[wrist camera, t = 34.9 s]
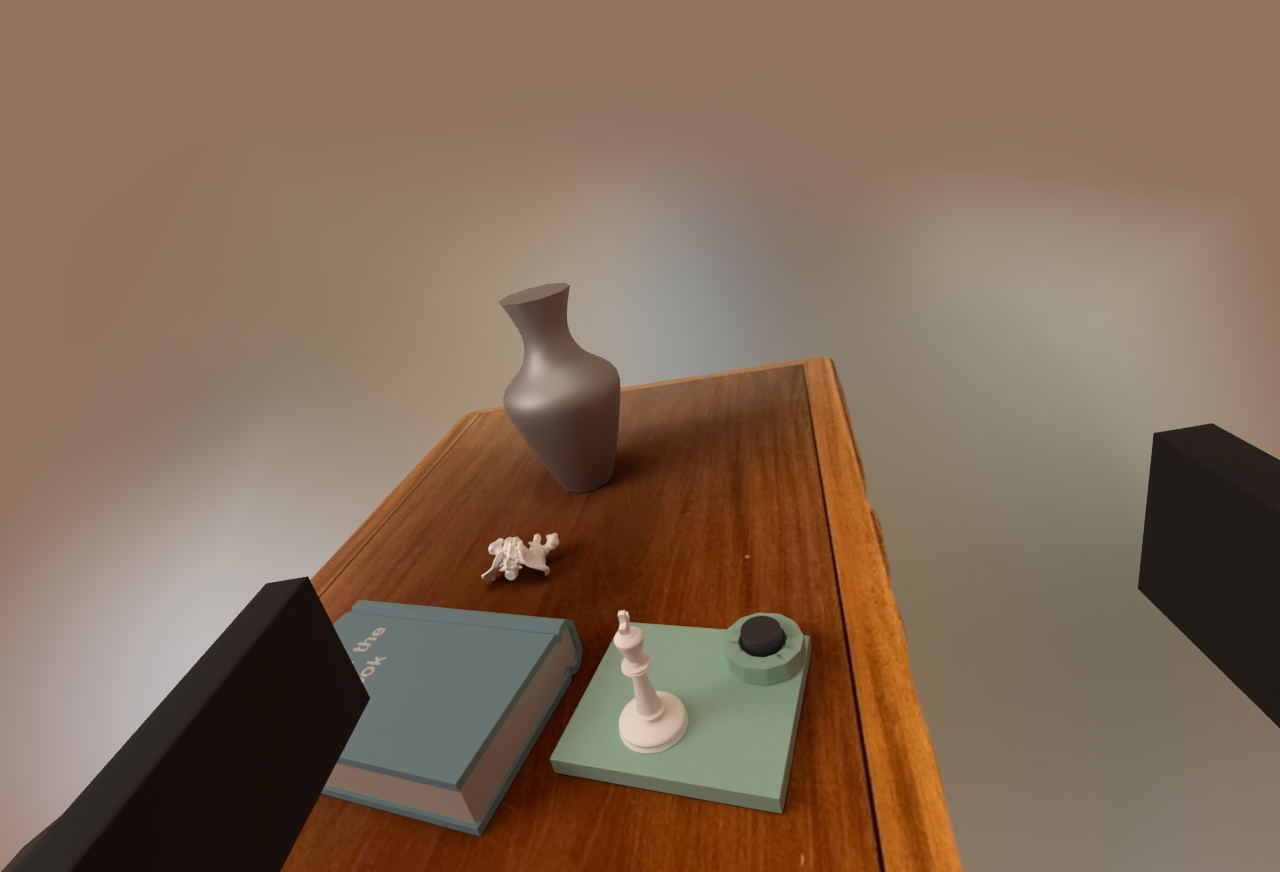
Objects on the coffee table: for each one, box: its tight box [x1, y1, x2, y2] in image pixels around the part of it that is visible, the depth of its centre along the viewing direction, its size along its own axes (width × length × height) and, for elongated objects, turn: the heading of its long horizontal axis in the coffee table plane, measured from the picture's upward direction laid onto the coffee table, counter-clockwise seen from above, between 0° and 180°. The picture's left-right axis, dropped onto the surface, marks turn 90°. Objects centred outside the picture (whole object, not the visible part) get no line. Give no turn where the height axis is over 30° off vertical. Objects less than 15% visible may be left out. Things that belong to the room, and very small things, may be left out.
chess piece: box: [614, 610, 688, 754], centre depth 45 cm, size 5×5×10 cm
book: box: [321, 600, 583, 836], centre depth 54 cm, size 23×16×5 cm
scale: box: [550, 613, 812, 814], centre depth 49 cm, size 16×14×3 cm
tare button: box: [740, 616, 783, 657], centre depth 50 cm, size 3×3×1 cm
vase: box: [499, 283, 620, 493], centre depth 82 cm, size 14×14×25 cm
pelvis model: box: [482, 533, 559, 581], centre depth 70 cm, size 8×4×7 cm
